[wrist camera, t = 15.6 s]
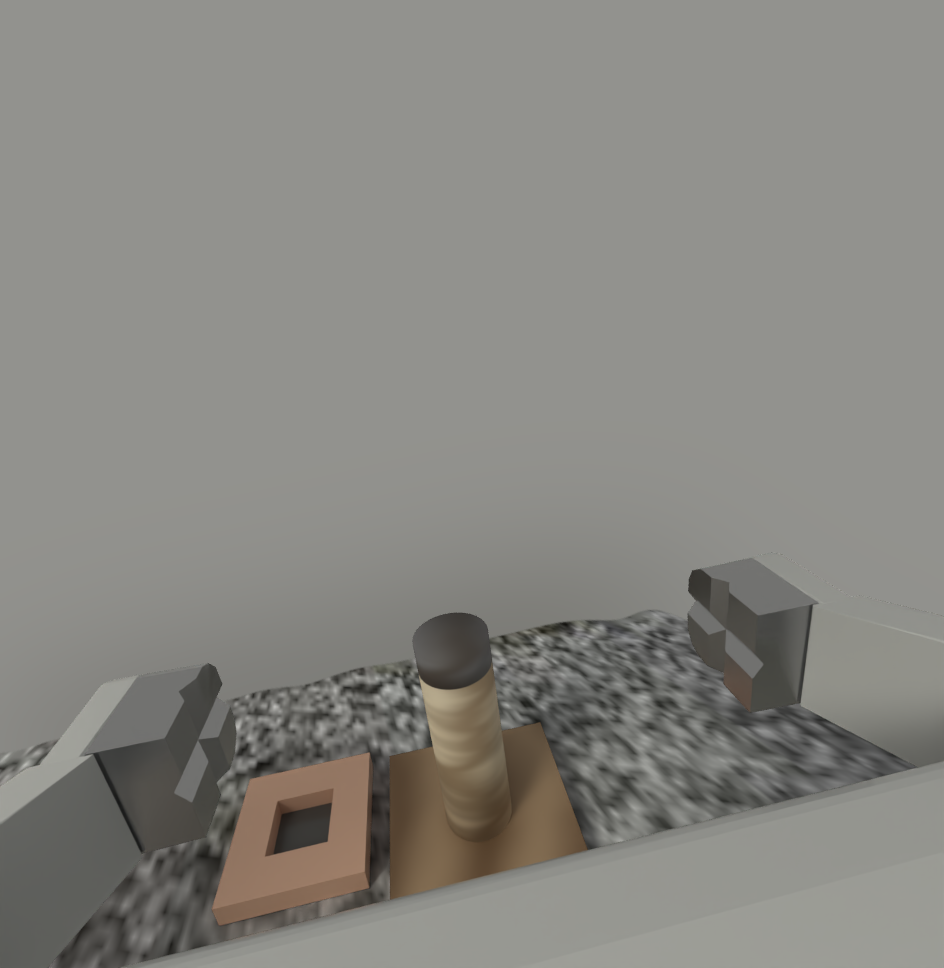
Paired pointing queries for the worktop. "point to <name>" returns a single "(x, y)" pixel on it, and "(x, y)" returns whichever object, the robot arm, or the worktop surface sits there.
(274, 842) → the frame
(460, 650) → the beech tool handle
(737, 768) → the worktop surface
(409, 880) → the walnut board
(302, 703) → the worktop surface
